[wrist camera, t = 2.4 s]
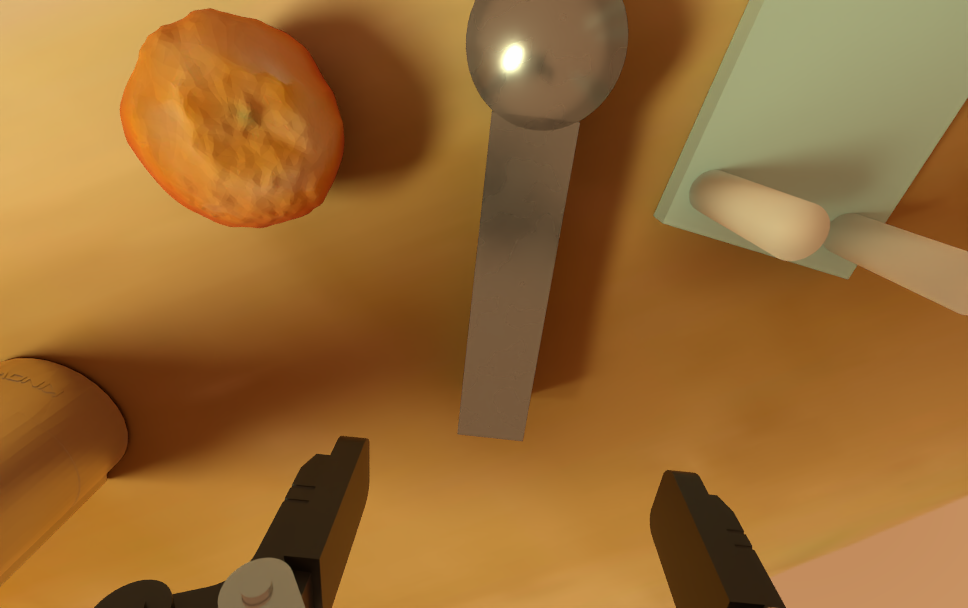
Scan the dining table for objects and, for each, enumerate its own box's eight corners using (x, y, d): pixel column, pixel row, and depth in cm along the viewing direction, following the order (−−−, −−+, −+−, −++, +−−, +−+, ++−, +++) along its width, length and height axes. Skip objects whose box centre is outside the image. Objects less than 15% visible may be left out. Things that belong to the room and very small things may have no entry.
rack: (828, 269, 25) (978, 349, 17) (653, 215, 24) (727, 274, 16) (1061, -99, 19) (1466, -236, 11) (834, -191, 18) (1097, -412, 10)
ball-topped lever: (539, 399, 29) (545, 443, 25) (442, 388, 29) (433, 431, 25) (631, -85, 19) (663, -127, 15) (484, -104, 19) (481, -151, 15)
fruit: (103, 80, 21) (40, 23, 14) (276, 32, 23) (296, -35, 17) (204, 247, 24) (194, 268, 17) (348, 187, 27) (389, 185, 20)
